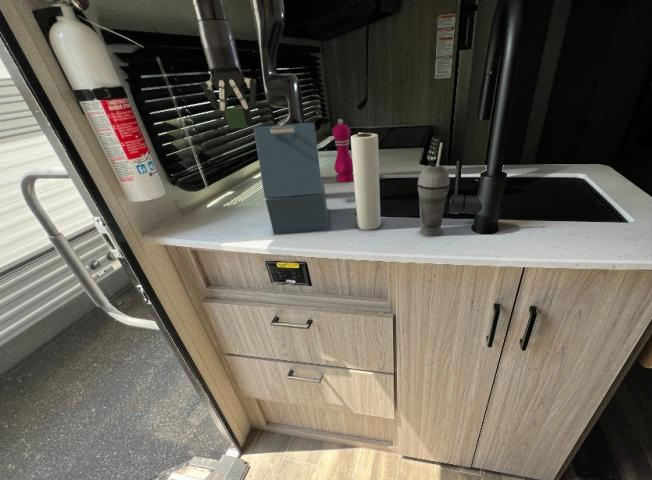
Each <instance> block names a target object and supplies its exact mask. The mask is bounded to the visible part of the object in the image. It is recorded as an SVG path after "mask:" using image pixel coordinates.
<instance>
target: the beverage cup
mask: <svg viewBox="0 0 652 480" xmlns="http://www.w3.org/2000/svg"><path fill="white" fill-rule="evenodd" d="M443 144H444V143H443V142H440V144H439V149H438V155H437V161H436V163H435V164H429V165H427V166H425V167H424V168H423V169H422V170H421V172H420V174H419V176H418V179H417V184H416V185H417V192H418V198H419V199H418V200H419V220H420V221H419V222H420V223H419V225H420V233H421V234H422V235H423V236H426V237H436V236H438V235H439V234H440V232H441V228H442V224H443V218H444V213H445V208H446V207H445V206H446V202H447V196H448V193H449V190H450V186H451V183H450V181H451V180H450V179H451V178H450V175H449V172H448V170H447V169H446V168H445V167H444V166H443V165H441V164H440V161H441V156H442V150H443Z"/></svg>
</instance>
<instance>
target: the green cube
mask: <svg viewBox="0 0 652 480" xmlns="http://www.w3.org/2000/svg"><path fill="white" fill-rule="evenodd" d="M225 113H226V116H227V120H228V124H229V127H228V128H229V129H231V130H232V129H244V128H245V129H246V128H248V127H249V126H250V125H247V122H246V118H245V114H244V107H243V106H235V107H227V109H225ZM228 124H227V125H228Z"/></svg>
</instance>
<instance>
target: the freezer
mask: <svg viewBox="0 0 652 480" xmlns="http://www.w3.org/2000/svg"><path fill="white" fill-rule="evenodd" d="M321 183H322V192H323V193H322V194H311V195H300V196H289V197H277V198H265V205H266V208H267V213H268V216H269V220H270V225H271V228H272V232H273V235H282V234H294V233H303V232H314V231H322V230H323V231H326V230H328V227H329V225H328V205H327V197H326V190H325V182H324V178H321Z"/></svg>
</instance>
